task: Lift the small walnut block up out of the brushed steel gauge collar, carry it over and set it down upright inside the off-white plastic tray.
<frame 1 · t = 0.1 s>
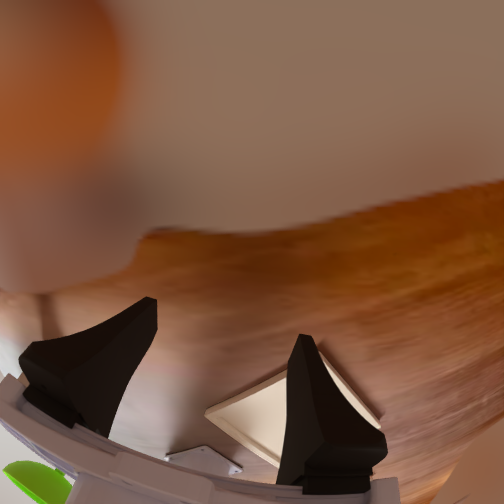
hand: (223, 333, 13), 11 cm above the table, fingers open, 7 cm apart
wineglass: (81, 439, 36), on the table
tray: (297, 420, 28), on the table
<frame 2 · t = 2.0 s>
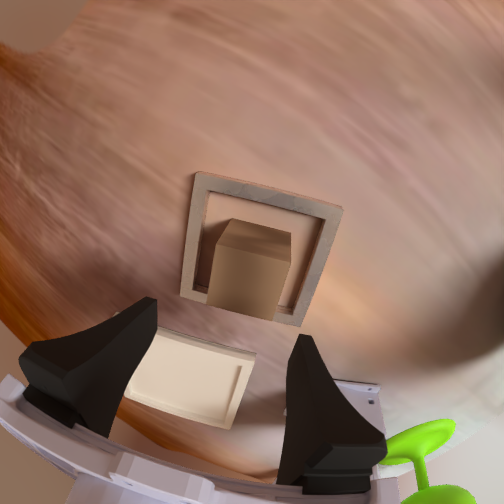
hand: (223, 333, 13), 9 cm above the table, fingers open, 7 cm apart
walnut block: (254, 251, 22), resting in gauge collar
gauge collar: (254, 252, 22), on the table
wineglass: (414, 442, 33), on the table
tray: (179, 377, 30), on the table
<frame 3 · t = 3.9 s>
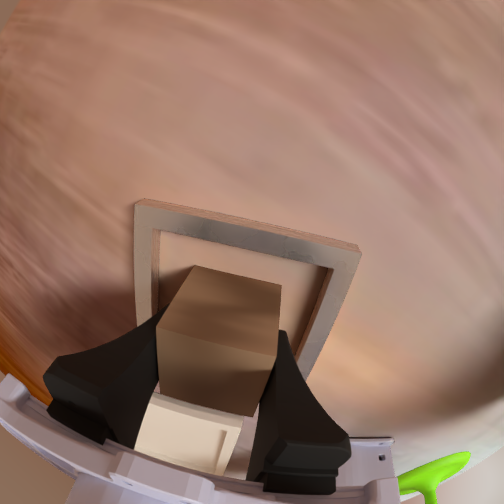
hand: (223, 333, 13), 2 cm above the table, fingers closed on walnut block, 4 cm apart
walnut block: (231, 310, 15), resting in gauge collar, touching gripper
gauge collar: (231, 310, 15), on the table
wineglass: (426, 474, 26), on the table
tray: (159, 430, 23), on the table
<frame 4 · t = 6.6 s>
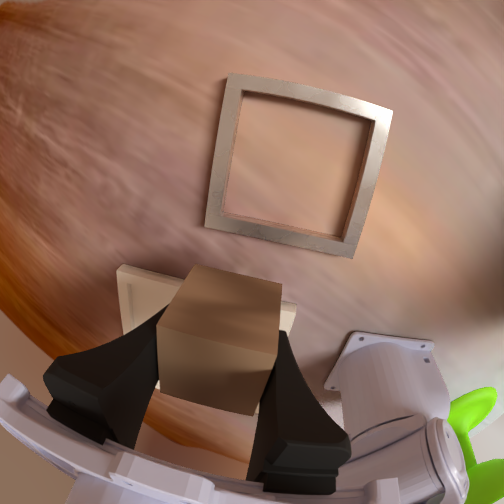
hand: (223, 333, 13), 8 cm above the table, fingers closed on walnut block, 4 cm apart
walnut block: (231, 309, 15), point 6 cm above the table, touching gripper
gauge collar: (296, 164, 18), on the table
wineglass: (456, 418, 29), on the table
tray: (198, 348, 26), on the table
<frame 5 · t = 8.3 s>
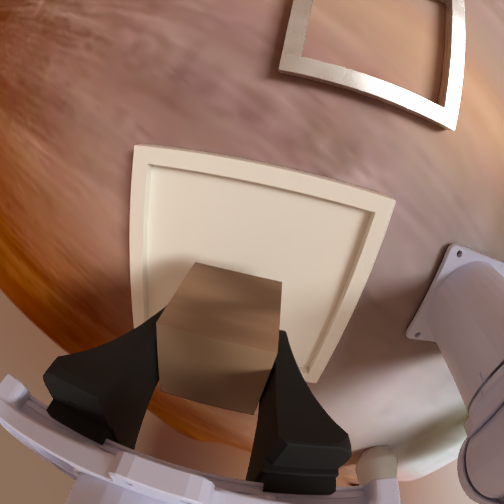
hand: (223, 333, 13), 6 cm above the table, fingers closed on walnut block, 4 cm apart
walnut block: (231, 307, 15), point 4 cm above the table, touching gripper
gauge collar: (383, 23, 10), on the table
tray: (241, 277, 18), on the table
salt shaker: (374, 450, 28), on the table
when the fingers open (4 cm above the table, at t = 9.5 s): walnut block drops 1 cm, resting on tray.
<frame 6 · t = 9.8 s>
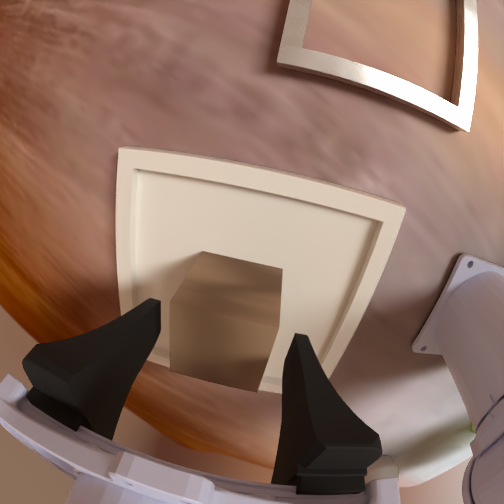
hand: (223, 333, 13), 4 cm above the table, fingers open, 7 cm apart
walnut block: (236, 293, 16), resting on tray
gauge collar: (391, 14, 9), on the table
tray: (237, 290, 17), on the table
salt shaker: (375, 459, 26), on the table
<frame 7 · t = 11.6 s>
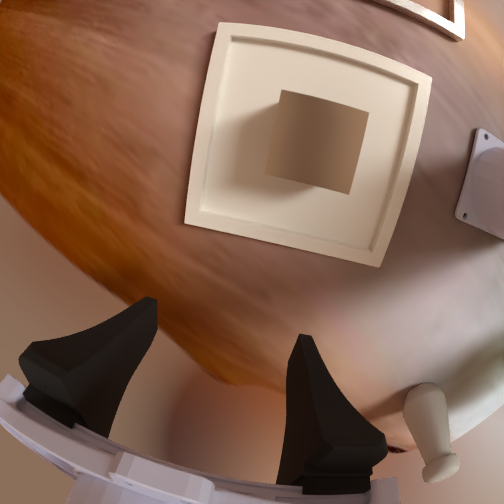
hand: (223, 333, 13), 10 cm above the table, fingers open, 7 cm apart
walnut block: (309, 139, 17), resting on tray
tray: (309, 140, 18), on the table
salt shaker: (419, 391, 27), on the table
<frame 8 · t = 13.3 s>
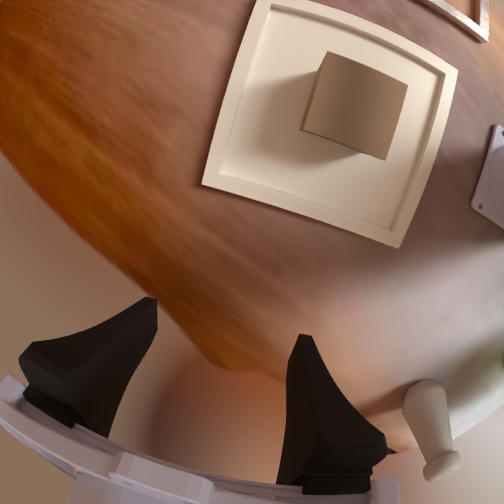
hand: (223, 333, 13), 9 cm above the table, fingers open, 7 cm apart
walnut block: (340, 110, 16), resting on tray
tray: (338, 113, 17), on the table
salt shaker: (419, 388, 27), on the table
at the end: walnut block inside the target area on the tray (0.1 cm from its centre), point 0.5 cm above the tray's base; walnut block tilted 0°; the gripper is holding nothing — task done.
